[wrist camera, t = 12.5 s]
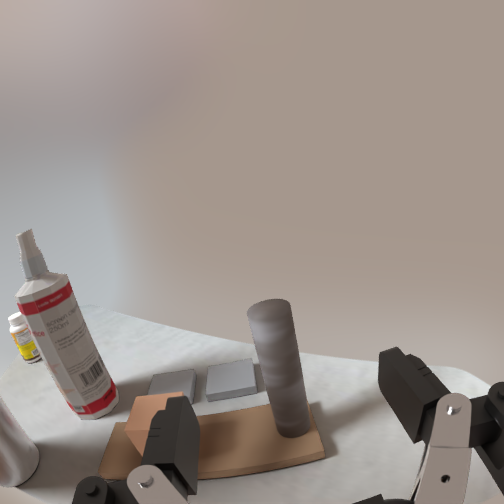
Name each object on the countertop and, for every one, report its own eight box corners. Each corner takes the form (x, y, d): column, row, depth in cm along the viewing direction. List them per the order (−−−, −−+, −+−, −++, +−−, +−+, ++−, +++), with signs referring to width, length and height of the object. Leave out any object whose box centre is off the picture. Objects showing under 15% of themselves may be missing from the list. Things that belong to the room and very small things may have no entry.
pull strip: (103, 478, 22) (26, 370, 18) (120, 429, 29) (65, 328, 26) (325, 457, 22) (307, 327, 18) (306, 403, 30) (285, 283, 26)
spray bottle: (125, 385, 39) (60, 218, 33) (112, 418, 32) (28, 228, 25) (83, 389, 39) (19, 234, 32) (66, 419, 31) (-14, 246, 25)
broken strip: (148, 408, 33) (144, 401, 33) (156, 381, 39) (153, 374, 39) (257, 393, 33) (255, 385, 33) (253, 365, 39) (251, 358, 39)
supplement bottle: (28, 354, 52) (10, 313, 49) (47, 349, 54) (28, 307, 51) (22, 366, 47) (1, 323, 44) (42, 361, 49) (21, 316, 46)
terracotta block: (147, 463, 23) (124, 430, 22) (155, 429, 28) (136, 396, 26) (195, 460, 23) (176, 427, 22) (198, 425, 28) (182, 391, 26)
